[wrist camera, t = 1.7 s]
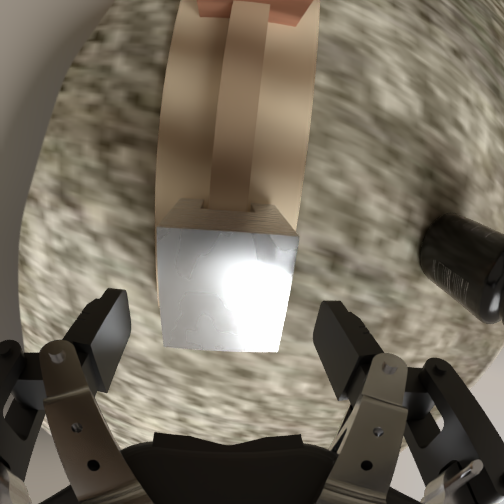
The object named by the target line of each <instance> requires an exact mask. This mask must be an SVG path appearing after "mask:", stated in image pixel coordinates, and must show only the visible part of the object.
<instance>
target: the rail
mask: <svg viewBox="0 0 504 504" xmlns="http://www.w3.org/2000/svg"><path fill="white" fill-rule="evenodd" d="M319 10H320V0H181V1H180V5H179V9H178V13H177V17H176V22H175V26H174V31H173V36H172V41H171V46H170V51H169V57H168V62H167V68H166V75H165V82H164V89H163V96H162V104H161V113H160V123H159V134H158V147H157V162H156V184H155V256H156V278H157V294H158V307H160V302H159V288H158V268H157V226H158V225H159V223H160V222H161V221H162V220H163V219H164V217H165V216H166V215H167V214H168V213H169V211H170V210H171V209H172V208H173V207H174V205H175V204H176V203H177V202H178V201H179V200H180V199H181V198H187V199H204V208H203V209H213V210H228V211H241V212H250V209H251V203H260V204H271V205H275V206H276V208H277V209H278V210H279V211H280V213H281V214H282V215H283V216H284V218H285V219H286V220H287V221H288V223H289V224H290V225H291V226H292V228H293V229H294V230H295V231H296V227H297V220H298V214H299V207H300V200H301V193H302V186H303V179H304V171H305V164H306V156H307V148H308V139H309V131H310V122H311V113H312V103H313V93H314V82H315V71H316V58H317V45H318V29H319Z"/></svg>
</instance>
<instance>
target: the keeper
mask: <svg viewBox="0 0 504 504" xmlns="http://www.w3.org/2000/svg"><path fill="white" fill-rule="evenodd" d="M203 208H204V199H187V198H181V199H180V200H179V201H178V202H177V203H176V204H175V205H174V207H173V208H172V209H171V210H170V211H169V213H168V214H167V215H166V216H165V217H164V219H163V220H162V221H161V222H160V223H159V225H158V226H157V268H158V288H159V302H160V315H161V325H162V335H163V344H164V347H172V348H183V349H196V350H213V351H237V352H278V347H279V342H280V338H281V333H282V328H283V323H284V319H285V314H286V309H287V304H288V298H289V293H290V288H291V283H292V277H293V272H294V266H295V261H296V255H297V249H298V243H299V235H298V234H297V233H296V231H295V230H294V229H293V228H292V226H291V225H290V224H289V223H288V221H287V220H286V219H285V218H284V216H283V215H282V214H281V213H280V211H279V210H278V209H277V208H276V206H275V205H271V204H260V203H251V209H250V212H241V211H228V210H213V209H203Z"/></svg>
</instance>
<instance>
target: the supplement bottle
mask: <svg viewBox="0 0 504 504" xmlns="http://www.w3.org/2000/svg"><path fill="white" fill-rule="evenodd" d="M420 260H421V267H422V270H423V272H424V274H425V275H426V276H427V278H429V279H430V280H431V281H432V282H433V283H435V284H436V285H437V286H438V287H440V288H441V289H442V290H444V291H445V292H446V293H447V294H449V295H450V296H451V297H452V298H454V299H455V300H456V301H457V302H458V303H460V304H461V305H462V306H463V307H464V308H466V309H467V310H468V311H469V312H470V313H472V314H473V315H474V316H475V317H476V318H477V319H479V320H480V321H481V322H483V323H486V324H494V323H497V322H499V321H501V320H502V323H503V325H504V234H502V233H500V232H498V231H495V230H493V229H491V228H489V227H487V226H485V225H482V224H480V223H478V222H475V221H473V220H471V219H468V218H466V217H464V216H461V215H458V214H455V213H447V214H444V215H442V216H440V217H439V218H437V219H436V220H435V221H434V222H433V223H432V225H431V226H430V227H429V229H428V231H427V233H426V235H425V237H424V240H423V243H422V247H421V253H420Z"/></svg>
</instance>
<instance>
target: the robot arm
mask: <svg viewBox="0 0 504 504" xmlns="http://www.w3.org/2000/svg"><path fill="white" fill-rule="evenodd" d="M130 333H131V318H130V311H129V304H128V297H127V292H126V290H122V289H112V288H108V289H107V290H106V291H105V292H104V294H103V295H102V297H101V298H100V299H95V300H93V301H92V302H90V303H89V304H87V305H86V307H85V308H84V309H83V311H82V314H81V313H80V315H79V316H78V318H77V320H75V322H74V323H73V325H72V326H71V328H70V329H69V330H68V332H67V333H66V335H65V336H64V338H63V339H62V340H54V341H51V342H49V343H47V344H45V345H44V346H43V347H42V349H41V350H40V352H39V353H23V351H22V348H21V346H20V344H19V343H18V342H16V341H14V340H5V341H3V342H0V504H32V502H31V499H30V497H29V494H28V490H27V488H26V486H25V484H24V480H25V476H26V472H27V468H28V465H29V461H30V458H31V455H32V451H33V448H34V445H35V442H36V439H37V436H38V433H39V430H40V427H41V425H42V422H43V419H44V417H45V414H46V417H47V420H48V424H49V427H50V431H51V434H52V437H53V440H54V443H55V446H56V449H57V452H58V455H59V457H60V460H61V462H62V465H63V468H64V470H65V473H66V475H67V477H68V479H69V482H70V484H71V485H69V486H67V487H66V488H65V489H63V490H61V491H60V492H58V493H56V494H55V495H53V496H51V497H50V498H48V499H46V500H44V501H43V502H41V503H39V504H499V503H501V502H502V501H503V500H504V442H503V441H502V439H501V437H500V436H499V434H498V432H497V431H496V429H495V428H494V426H493V425H492V423H491V421H490V420H489V418H488V417H487V415H486V414H485V412H484V411H483V409H482V408H481V406H480V405H479V403H478V402H477V400H476V399H475V397H474V396H473V395H472V393H471V392H470V390H469V389H468V388H467V386H466V385H465V383H464V382H463V381H462V379H461V378H460V377H459V375H458V374H457V373H456V371H455V370H454V369H453V367H452V366H451V365H450V364H449V363H448V362H446V361H445V360H442V359H440V358H430V359H428V360H427V361H426V363H425V364H424V366H423V368H412V367H407V365H406V363H405V362H404V361H403V360H402V359H401V358H400V357H398V356H396V355H394V354H390V353H384V352H383V350H382V349H381V347H380V346H379V345H378V343H377V342H376V340H375V339H374V337H373V336H372V335H371V334H370V332H369V330H368V329H367V328H365V325H364V323H363V322H362V321H361V319H360V318H359V317H357V316H356V315H355V314H353V313H352V312H348V310H347V309H346V308H345V306H344V305H343V303H342V302H341V301H323V302H322V303H321V305H320V309H319V313H318V316H317V320H316V324H315V328H314V332H313V342H314V346H315V348H316V350H317V352H318V355H319V357H320V359H321V362H322V364H323V366H324V369H325V371H326V374H327V376H328V378H329V381H330V383H331V385H332V388H333V390H334V392H335V395H336V397H337V400H338V401H341V400H347V399H349V401H350V405H349V407H348V409H347V411H346V413H345V416H344V418H343V420H342V422H341V424H340V427H339V429H338V431H337V433H336V435H335V437H334V439H333V441H332V443H331V445H330V447H329V448H328V449H325V448H323V447H319V446H316V445H311V444H304V443H303V441H302V438H301V434H299V435H289V436H276V437H265V438H261V439H257V440H253V441H249V442H244V443H240V444H235V445H222V444H218V443H214V442H210V441H206V440H202V439H199V438H195V437H191V436H183V435H173V434H164V433H157V432H154V438H153V441H152V442H144V443H139V444H135V445H132V446H129V447H127V448H124V449H123V450H121V449H120V447H119V445H118V444H117V442H116V440H115V438H114V436H113V434H112V433H111V431H110V429H109V427H108V425H107V423H106V421H105V419H104V417H103V415H102V413H101V410H100V408H99V406H98V404H97V402H96V399H95V395H96V393H97V391H100V392H104V393H108V390H109V387H110V384H111V382H112V379H113V376H114V374H115V371H116V369H117V366H118V364H119V361H120V359H121V356H122V354H123V351H124V349H125V346H126V344H127V341H128V339H129V337H130ZM10 393H12V395H13V396H14V400H13V401H12V403H11V406H10V408H9V410H8V412H7V414H6V416H5V419H4V417H3V408H4V405H5V403H6V401H7V399H8V397H9V395H10ZM434 405H436V407H437V409H438V410H439V412H440V414H441V415H442V417H443V419H444V427H443V430H442V431H440V429H439V427H438V426H437V424H436V422H435V420H434V418H433V417H432V415H431V413H430V410H431V409H432V408H433V407H434ZM403 435H404V437H405V439H406V442H407V444H408V446H409V448H410V451H411V453H412V455H413V458H414V460H415V462H416V465H417V467H418V469H419V472H420V474H421V476H422V479H423V481H424V484H425V487H426V489H425V492H424V497H423V498H422V499H421V502H419V501H416V500H415V499H413V498H411V497H409V496H407V495H404V494H403V493H401V492H399V491H397V490H395V489H393V488H392V487H390V483H391V480H392V477H393V474H394V470H395V467H396V463H397V460H398V456H399V452H400V448H401V444H402V439H403Z"/></svg>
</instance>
